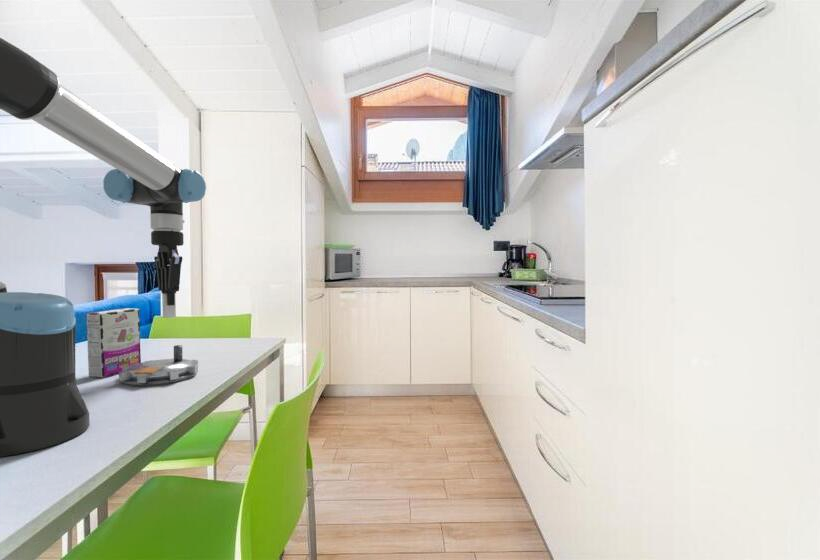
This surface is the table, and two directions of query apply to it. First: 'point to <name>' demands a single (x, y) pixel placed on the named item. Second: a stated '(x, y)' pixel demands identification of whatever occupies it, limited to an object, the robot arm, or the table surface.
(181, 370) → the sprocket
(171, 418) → the table surface
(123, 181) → the robot arm
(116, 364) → the candy bar box
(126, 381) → the bearing base
